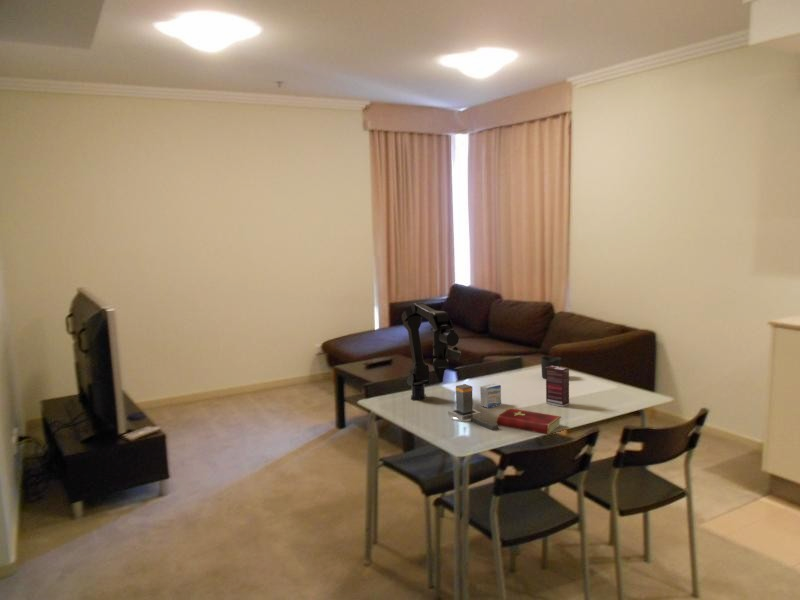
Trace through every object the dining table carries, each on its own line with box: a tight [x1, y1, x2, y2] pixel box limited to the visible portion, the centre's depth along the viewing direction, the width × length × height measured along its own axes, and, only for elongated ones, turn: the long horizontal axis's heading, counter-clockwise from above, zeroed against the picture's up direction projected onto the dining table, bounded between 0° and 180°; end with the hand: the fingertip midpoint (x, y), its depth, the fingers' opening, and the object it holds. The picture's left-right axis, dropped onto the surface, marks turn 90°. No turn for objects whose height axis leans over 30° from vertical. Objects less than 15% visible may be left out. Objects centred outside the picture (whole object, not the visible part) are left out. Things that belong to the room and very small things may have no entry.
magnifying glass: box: [447, 408, 500, 431], centre depth 237 cm, size 25×12×2 cm, turn 31°
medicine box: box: [479, 383, 502, 409], centre depth 257 cm, size 8×4×9 cm, turn 123°
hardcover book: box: [496, 407, 562, 435], centre depth 231 cm, size 12×21×4 cm, turn 54°
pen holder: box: [540, 355, 562, 380], centre depth 299 cm, size 9×9×10 cm
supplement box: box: [545, 366, 570, 408], centre depth 255 cm, size 9×5×16 cm, turn 44°
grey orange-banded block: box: [455, 383, 474, 415], centre depth 242 cm, size 5×5×12 cm
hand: (440, 379), depth 252 cm, fingers open, 9 cm apart
